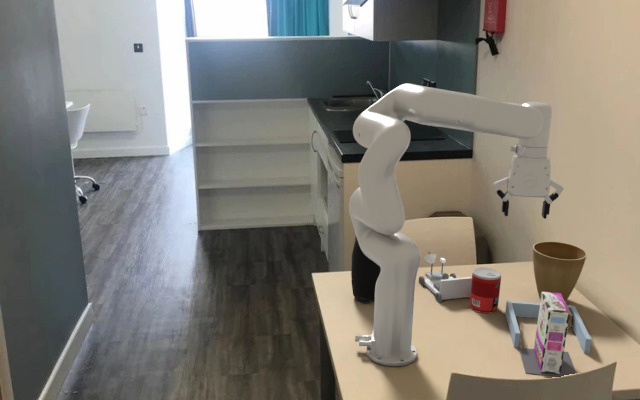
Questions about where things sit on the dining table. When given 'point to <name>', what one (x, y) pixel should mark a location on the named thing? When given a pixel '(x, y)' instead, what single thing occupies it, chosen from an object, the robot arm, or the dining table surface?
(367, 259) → the portable speaker
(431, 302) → the dining table surface
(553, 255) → the plant pot
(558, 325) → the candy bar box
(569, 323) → the walnut block
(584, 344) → the blue u-shaped frame
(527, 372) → the mat
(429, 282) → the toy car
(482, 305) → the canned food
